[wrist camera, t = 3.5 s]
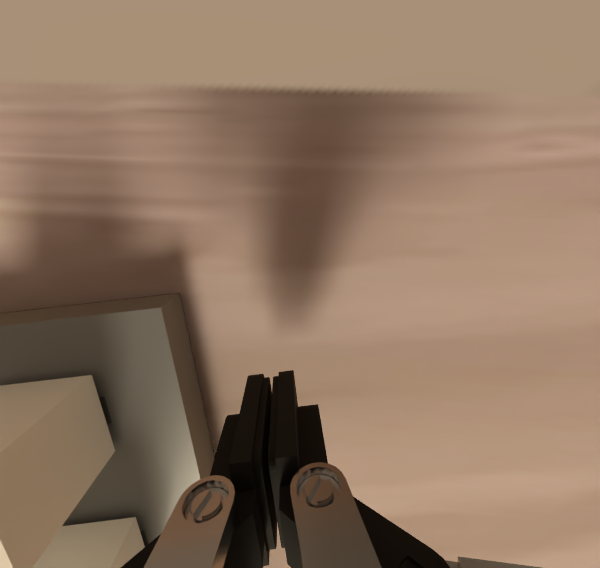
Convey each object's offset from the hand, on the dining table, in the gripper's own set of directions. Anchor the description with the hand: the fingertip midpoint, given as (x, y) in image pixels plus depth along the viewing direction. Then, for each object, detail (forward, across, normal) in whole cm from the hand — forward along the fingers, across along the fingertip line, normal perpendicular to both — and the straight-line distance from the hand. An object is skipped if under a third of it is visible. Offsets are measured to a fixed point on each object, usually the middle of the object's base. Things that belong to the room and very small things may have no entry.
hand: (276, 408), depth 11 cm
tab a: (+1, +9, 0) cm, 9 cm away
